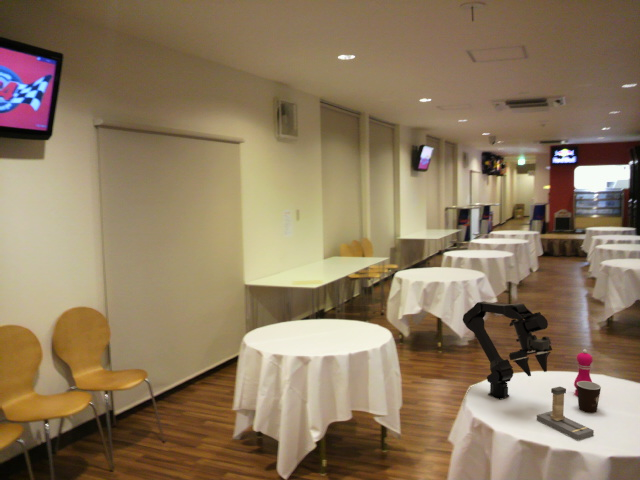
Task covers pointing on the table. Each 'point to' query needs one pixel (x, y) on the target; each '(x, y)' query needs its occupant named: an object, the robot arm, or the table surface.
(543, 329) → the robot arm
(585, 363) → the pepper mill
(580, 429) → the fader console
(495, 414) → the table surface
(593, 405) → the coffee mug
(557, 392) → the fader lever
